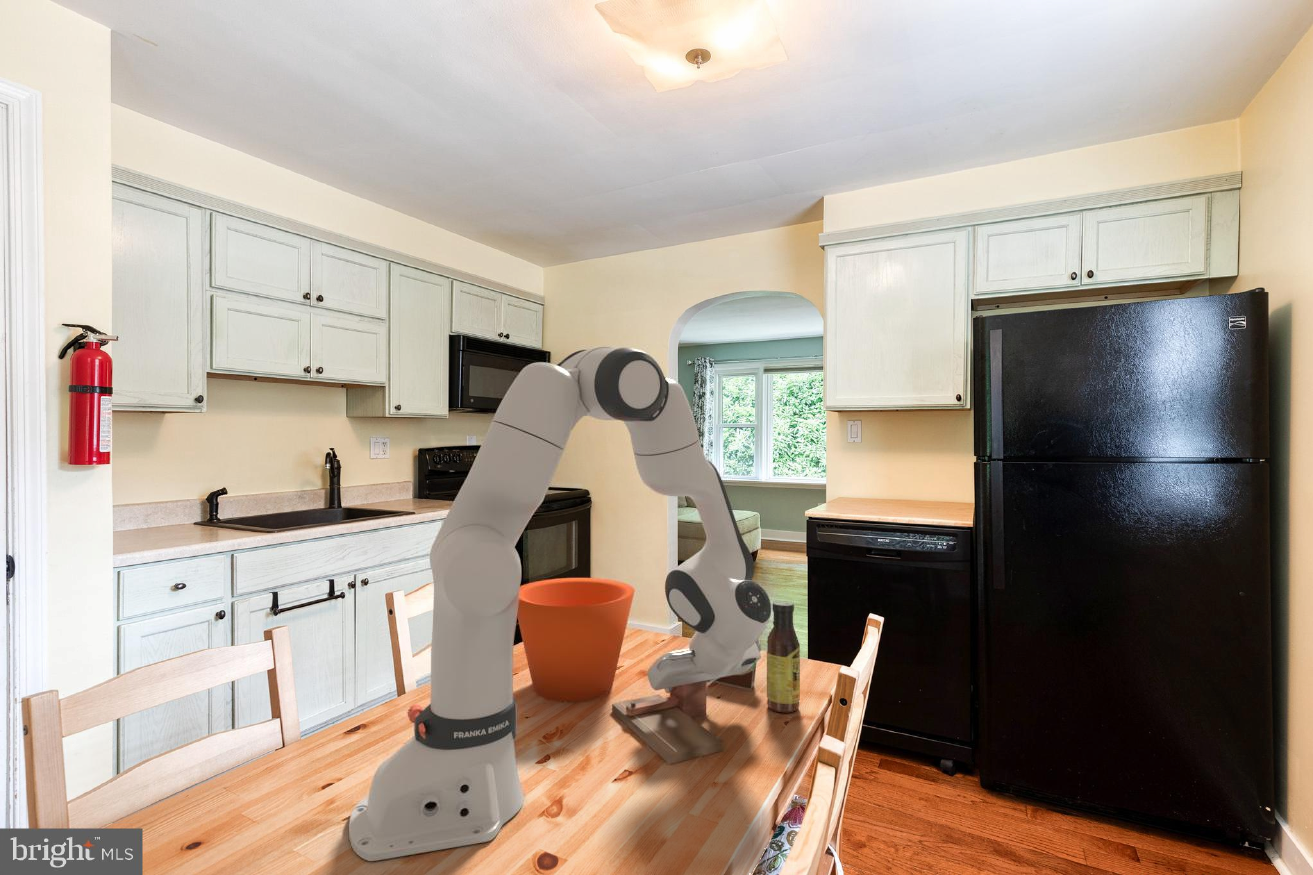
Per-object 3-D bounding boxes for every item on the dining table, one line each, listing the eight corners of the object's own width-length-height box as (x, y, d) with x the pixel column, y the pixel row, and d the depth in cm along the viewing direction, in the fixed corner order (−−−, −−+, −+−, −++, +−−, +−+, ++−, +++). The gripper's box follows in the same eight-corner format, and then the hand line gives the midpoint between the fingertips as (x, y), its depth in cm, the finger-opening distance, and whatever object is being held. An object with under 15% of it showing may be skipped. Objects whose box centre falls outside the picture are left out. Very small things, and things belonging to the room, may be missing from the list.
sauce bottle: (800, 715, 119) (800, 608, 119) (765, 712, 120) (766, 606, 121) (799, 701, 126) (799, 600, 126) (767, 699, 127) (767, 598, 127)
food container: (770, 682, 136) (770, 635, 136) (758, 692, 130) (758, 642, 130) (717, 671, 142) (718, 625, 142) (704, 679, 137) (705, 632, 137)
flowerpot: (602, 720, 117) (603, 611, 117) (486, 700, 125) (487, 599, 125) (651, 674, 140) (651, 583, 140) (550, 659, 149) (550, 574, 149)
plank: (669, 764, 101) (669, 754, 101) (612, 711, 120) (612, 703, 120) (722, 750, 106) (722, 740, 106) (659, 701, 125) (659, 693, 125)
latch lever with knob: (634, 729, 113) (634, 679, 113) (622, 718, 117) (622, 670, 117) (706, 713, 120) (706, 666, 120) (692, 703, 125) (692, 658, 125)
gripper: (670, 675, 106) (642, 712, 115) (768, 656, 116) (736, 691, 125) (657, 640, 110) (632, 678, 119) (754, 625, 120) (724, 661, 128)
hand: (686, 685), depth 122 cm, fingers open, 7 cm apart
